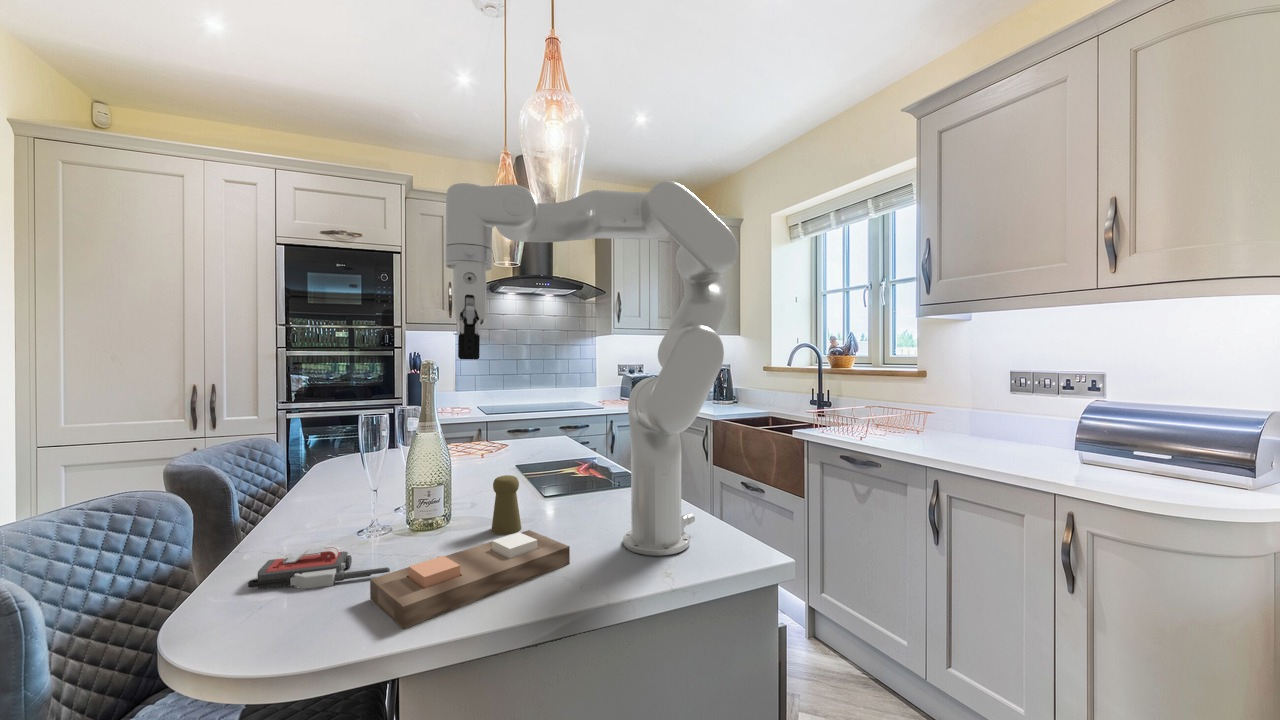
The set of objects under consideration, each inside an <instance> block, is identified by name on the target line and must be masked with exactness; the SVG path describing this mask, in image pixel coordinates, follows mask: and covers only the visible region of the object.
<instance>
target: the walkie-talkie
mask: <svg viewBox="0 0 1280 720" xmlns="http://www.w3.org/2000/svg"><path fill="white" fill-rule="evenodd" d="M292 555H293V554H292V553H287V555H286V556H285V557H283V558H276V559H275V558H274V559H268V560H267V561H266V562H265V563H264V564H263V565H262V566H261V568H259V570H258V571H257V578H256V579H255V578H254V579H251V580H249V581H248V582H247V587H248V588H253V589H254V588H257V590H269V589H276V587H278V588H284V587H283V586H286V587H292V586H293V585H294V586H293V588H297V587H299V589H302V588H304V589H303V590H306V589H307V588H308V589H315V588H322V587H333V586H335V583H336V582H342V581H344V580H349V579H358V578H359V579H360V578H365V577H370V576H372V575H378V574H384V573H385V574H387V573H391V572H390V571H391V570H390V568H389V567H388V566H387V567H379V568H371V569H362V570H355V571H347V572H345V570H346V569H350V568H351V567H352V562H353V561H352V559H353V558H352V555H351V554H349V555H348V551H339V550H338V548H336V547H333V546H331V547H324V548H320V547H319V548H311V549H307V550H306V551H304V552H303V553H302V554H300V555H298V556H292ZM308 589H307V590H308Z"/></svg>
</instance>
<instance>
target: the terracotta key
mask: <svg viewBox="0 0 1280 720" xmlns="http://www.w3.org/2000/svg"><path fill="white" fill-rule="evenodd" d="M445 556H446V555H441V556H438V557H435V558H431V559H429V560H425V561H421V562H418V563H415V564H412V565H409V566H408V567H409V579H410V580H412V581H413V582H414V583H416V584H417V585H419V586H420V587H421V588H423V589H425V588H428V587H431V586H433V585H436V584H439V583H442V582H445V581H448V580H451V579H454V578H457V577H459V576H460V565H459V564H457V563H455V562H453V561H452V560H450V559H448V558H447V557H445Z"/></svg>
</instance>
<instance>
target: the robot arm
mask: <svg viewBox="0 0 1280 720" xmlns="http://www.w3.org/2000/svg"><path fill="white" fill-rule="evenodd" d="M445 196H446V197H445V198H446V199H445V208H446V209H445V267H446V268H447V269H452V270H453V271H452V274H453V275H452V276H453V277H452V282H453V284H452V287H453V289H452V290H453V292H452V293H453V294H452V295H453V310H454V318H455V323H456V325H458V326H459V334H458V336H457V337H458V339H457V341H458V343H457V345H458V346H457V348H458V349H457V357H458V359H460V360H479V359H480V350H481V349H480V346H481V345H480V343H481V342H480V338H481V337H480V334H479V323H480V326H481V327H483V326H484V325H486V324H487V321H488V320H487V318H488V317H487V272H488V271H491V270H492V269H493V268H492V266H493V263H492V262H493V228H494V227H495V228H496V230H497V232H498V233H499V235H501V236H502V237H504V238H505V239H507V240H510V241H513V242H521V243H522V242H523V243H557V242H558V243H561V242H571V241H586V240H592V239H609V240H610V239H612V240H614V239H616V240H619V239H620V240H661V239H664V238H665V239H666V238H667V237H669V236H670V237H671V238H672V239H673V240H674V241H675V242H676V243H677V244H678V245H679V248H678V249H677V252H676V256H675V266H676V269H677V271H678V273H679V276H680V279H681V280H682V282H683V287H684V290H683V291H684V293H683V297H682V301H681V303H680V305H679V307H678V309H677V312H676V313H675V315H674V317H673V319H672V321H671V324H669V327H668V329H667V331H666V332H665V334H664V336H663V338H662V340H661V341H660V343H659V345H658V351H657V359H658V363H659V364H660V367H661V370H660V372H659V374H658V376H652V377H647V378H644V379H641V380H640V381H639V382H637V383H636V384H635V386H634V387H633V388H632V390H631V391H630V393H629V397H628V402H627V403H628V404H627V412H628V421H629V430H630V433H629V434H630V475H631V476H630V479H631V480H630V485H631V486H630V487H631V488H630V490H631V491H630V492H631V493H630V495H631V497H630V498H631V499H630V500H631V502H630V503H631V510H630V513H631V519H630V520H631V521H630V524H631V530H630V531H627V532H626V533H625V534H624V535H623V538H622V539H623V540H622V541H623V546H624V547H625V548H626V549H627V550H629V551H630V552H633V553H636V554H640V555H645V556H652V557H653V556H655V557H656V556H670V555H675V554H678V553H682V552H683V551H684V550H686V549H688V547H689V546H690V542H691V541H690V540H691V539H690V536H689V535H688V534H687V532H685V528H686V527H687V526H689V525H691V524H693V523H695V521H696V517H695V515H694V514H693V513H692V512H691V513H687V514H684V515H682V444H681V443H682V442H681V434H680V433H683V432H684V431H685V430H687V429H688V428H689V427H691V425H692V424H693V423H694V422H695V420H696V419H697V417H698V415H699V413H700V412H701V409H702V407H703V406H704V404H705V401H706V399H707V398H708V396H709V393H710V392H711V390H712V388H713V386H714V383H715V381H716V379H717V377H718V375H719V373H720V371H721V369H722V365H723V362H724V357H725V356H724V355H725V350H724V344H723V341H722V339H721V337H720V335H719V334H718V333H717V331H718V329H719V327H720V324H721V322H722V320H723V318H724V315H725V313H726V310H727V304H728V296H727V290H726V289H727V288H726V285H725V284H726V283H725V281H724V278H723V275H722V274H725V273H726V272H728V271H729V270H730V269H732V267H733V266H735V264H736V263H737V259H738V257H739V244H738V240H737V239H736V235H734V233H733V232H732V231H731V229H730V228H729V227H728V226H727V225H726V224H725V223H724V222H723V221H722V220H721V219H720V218H719V216H717V215H716V214H715V213H714V212H713V211H712V210H711V209H709V207H708V206H707V205H705V203H703V202H702V201H701V200H700V199H699V198H698V197H697V196H696V195H695V194H694V193H693V192H691V191H690V190H689V189H688V188H686V187H685V186H684V185H682V184H680V183H678V182H676V181H672V180H663V181H659V182H657V183H655V184H654V185H653V186H652V187H651V188H650V189H649V191H646V192H645V191H624V190H623V191H622V190H621V191H620V190H619V191H618V190H605V189H603V190H602V189H595V190H590V191H587V192H584V193H582V194H579V195H578V196H575V197H574V198H571V199H568V200H565V201H560V202H551V203H549V202H548V203H543V202H540V203H539V202H538V200H537V198H536V196H535V194H534V193H533V192H532V191H531V190H530V189H528V188H526V187H525V186H522V185H519V184H499V185H480V184H475V183H469V182H468V183H467V182H465V183H464V182H462V183H461V182H460V183H459V182H458V183H455V184H452V185H450V186H449V187H448V189H447V190H446V195H445Z"/></svg>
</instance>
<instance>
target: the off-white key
mask: <svg viewBox="0 0 1280 720" xmlns="http://www.w3.org/2000/svg"><path fill="white" fill-rule="evenodd" d="M491 542H492V551H494V552H496V553H498V554H500V555H502V556H504V557H506V558H508V559H511V558H514V557H517V556H520V555H523V554H526V553H529V552H532V551H534V550H537V539H534V538H532V537H529V536H527V535H525V534H522V533H521V532H520V531H518V532H516V533H513V534H508V535H506V536H503V537H500V538H496V539H494V540H492V541H491Z"/></svg>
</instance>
